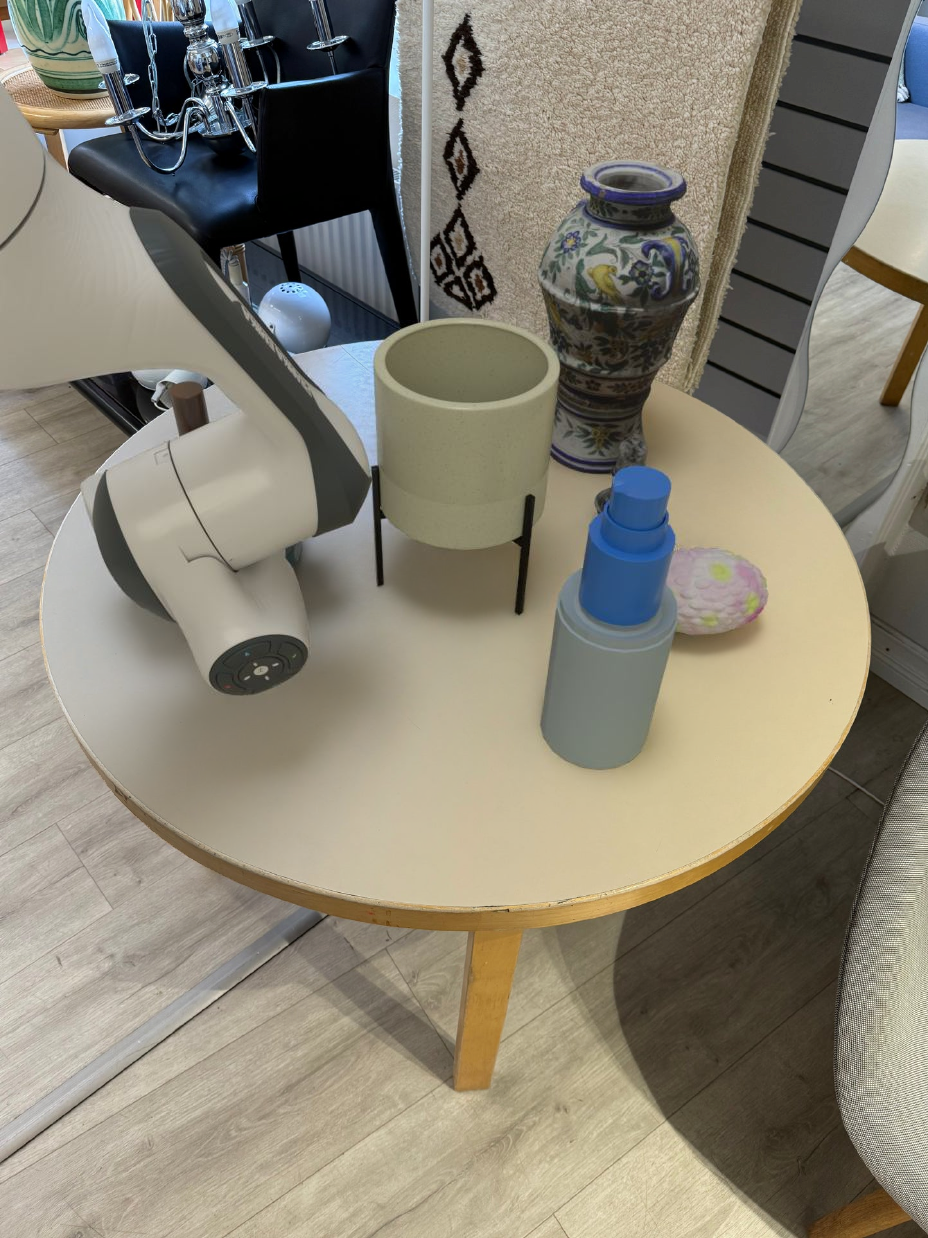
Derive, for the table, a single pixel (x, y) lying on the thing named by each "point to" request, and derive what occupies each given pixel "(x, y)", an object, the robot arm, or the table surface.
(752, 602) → the decorative item
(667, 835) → the table surface
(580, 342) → the vase
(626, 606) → the spray bottle
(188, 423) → the post on square base
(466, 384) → the planter
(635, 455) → the salt shaker
